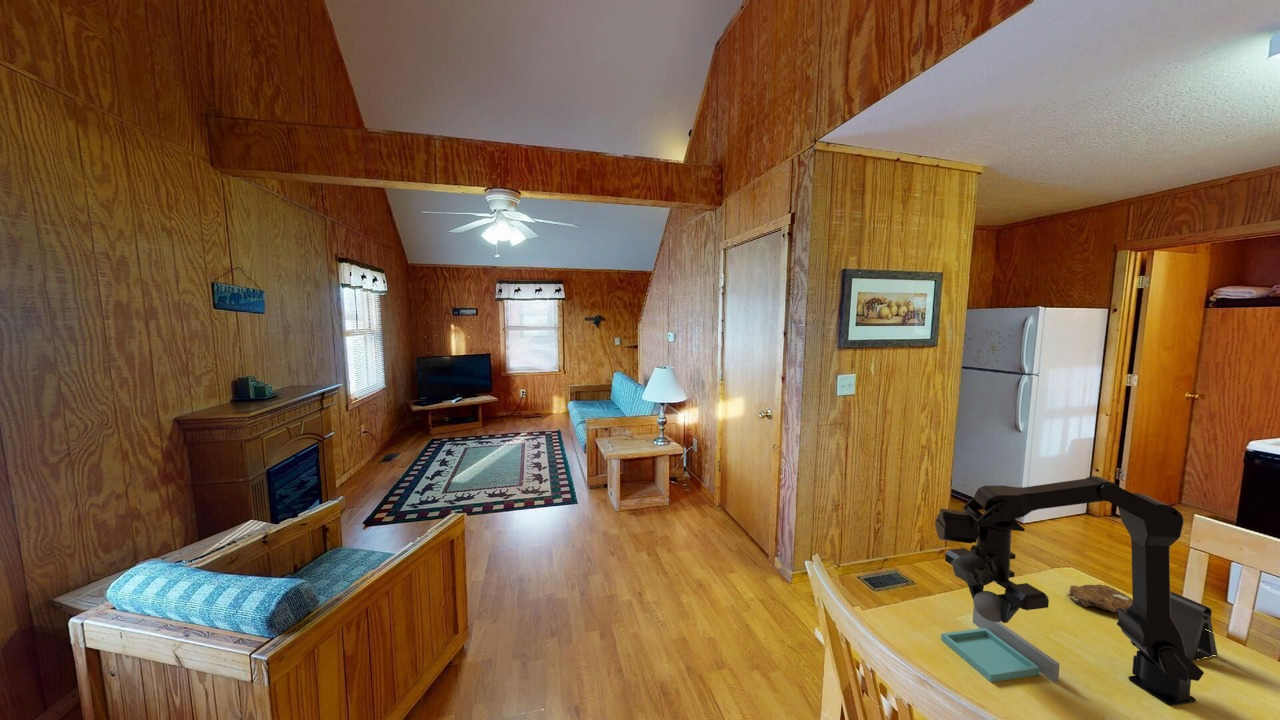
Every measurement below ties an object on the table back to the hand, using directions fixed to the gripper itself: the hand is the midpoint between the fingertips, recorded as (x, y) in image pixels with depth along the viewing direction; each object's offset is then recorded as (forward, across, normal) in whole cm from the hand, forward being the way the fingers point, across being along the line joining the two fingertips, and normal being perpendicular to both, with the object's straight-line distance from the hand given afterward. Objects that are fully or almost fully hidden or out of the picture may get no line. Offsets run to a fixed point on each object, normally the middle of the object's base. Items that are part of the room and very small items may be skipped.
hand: (990, 612), depth 92 cm
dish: (+10, 0, 0) cm, 10 cm away
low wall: (+10, -1, +7) cm, 13 cm away
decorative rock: (+11, -10, +47) cm, 49 cm away
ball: (-2, 0, 0) cm, 2 cm away
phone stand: (+11, +5, +46) cm, 47 cm away
